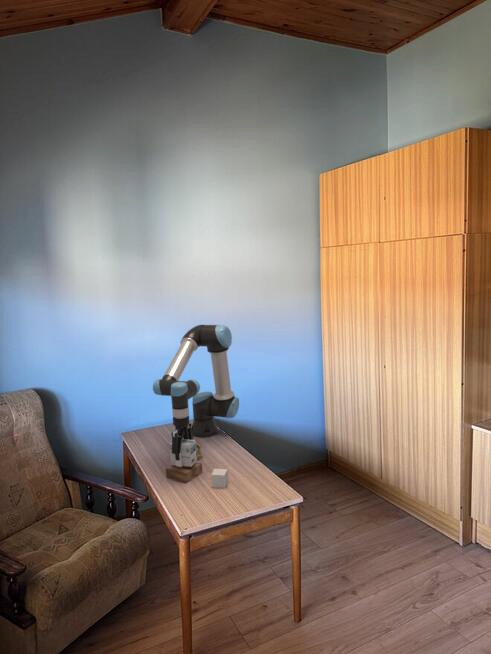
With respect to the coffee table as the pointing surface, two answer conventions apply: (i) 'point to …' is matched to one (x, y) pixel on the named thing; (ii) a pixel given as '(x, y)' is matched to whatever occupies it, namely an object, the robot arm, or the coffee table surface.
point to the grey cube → (219, 478)
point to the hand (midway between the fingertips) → (183, 462)
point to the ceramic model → (198, 451)
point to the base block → (183, 472)
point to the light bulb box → (185, 453)
